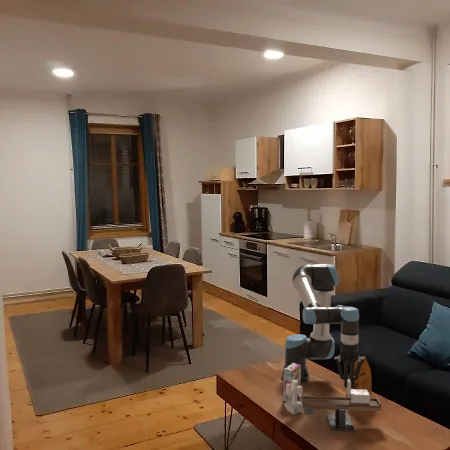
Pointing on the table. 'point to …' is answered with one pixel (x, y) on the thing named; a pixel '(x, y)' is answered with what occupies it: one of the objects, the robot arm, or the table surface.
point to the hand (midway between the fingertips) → (348, 394)
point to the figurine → (294, 397)
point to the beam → (336, 404)
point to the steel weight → (359, 397)
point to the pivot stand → (340, 421)
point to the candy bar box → (291, 374)
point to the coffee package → (362, 377)
